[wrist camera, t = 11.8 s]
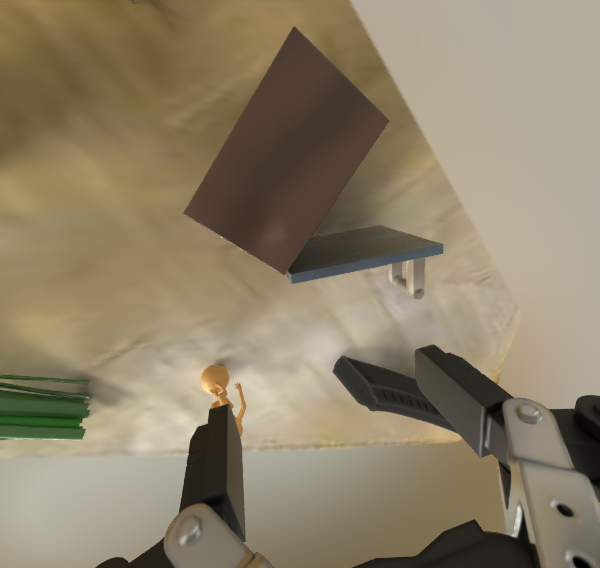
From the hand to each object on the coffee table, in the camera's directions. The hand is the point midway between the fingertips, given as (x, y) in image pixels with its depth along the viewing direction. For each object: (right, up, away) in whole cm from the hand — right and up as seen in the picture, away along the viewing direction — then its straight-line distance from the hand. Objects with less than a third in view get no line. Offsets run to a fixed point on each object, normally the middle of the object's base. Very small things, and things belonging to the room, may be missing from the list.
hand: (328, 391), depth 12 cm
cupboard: (-5, +19, +25) cm, 32 cm away
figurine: (-13, -9, +33) cm, 37 cm away
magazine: (+18, -14, +42) cm, 47 cm away
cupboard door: (+3, +8, +30) cm, 32 cm away
